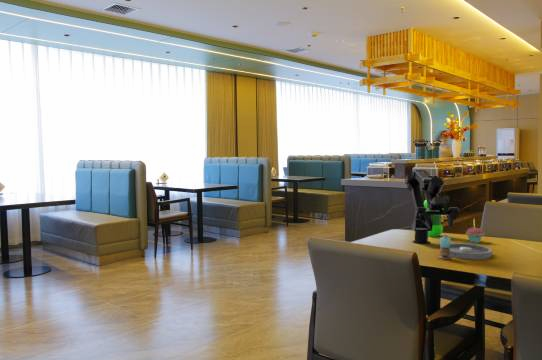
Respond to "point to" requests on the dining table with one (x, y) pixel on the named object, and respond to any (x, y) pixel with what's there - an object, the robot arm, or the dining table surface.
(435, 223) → the plastic bottle
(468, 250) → the groove tray
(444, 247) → the bead stack
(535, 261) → the dining table surface
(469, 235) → the cupcake
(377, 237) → the dining table surface
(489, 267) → the dining table surface
